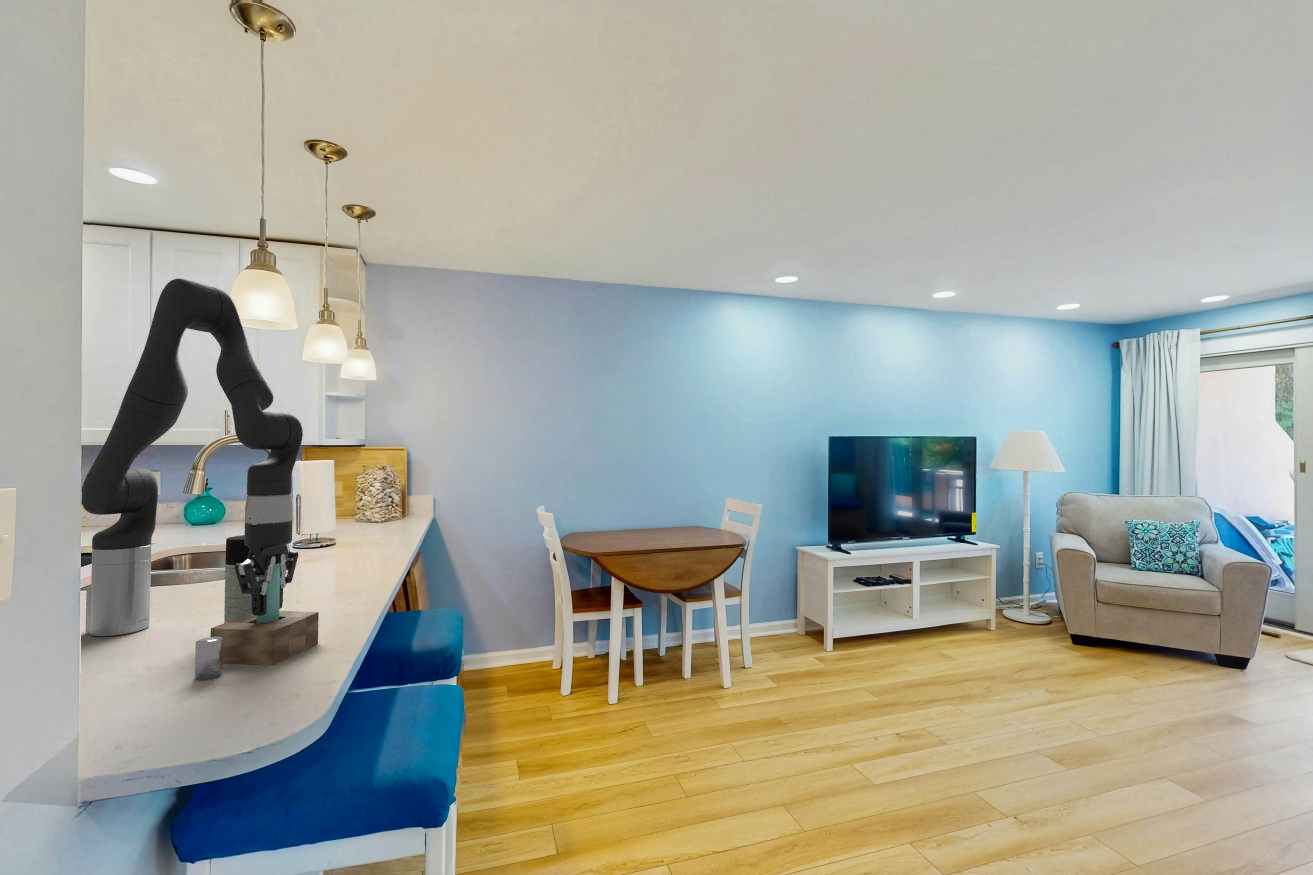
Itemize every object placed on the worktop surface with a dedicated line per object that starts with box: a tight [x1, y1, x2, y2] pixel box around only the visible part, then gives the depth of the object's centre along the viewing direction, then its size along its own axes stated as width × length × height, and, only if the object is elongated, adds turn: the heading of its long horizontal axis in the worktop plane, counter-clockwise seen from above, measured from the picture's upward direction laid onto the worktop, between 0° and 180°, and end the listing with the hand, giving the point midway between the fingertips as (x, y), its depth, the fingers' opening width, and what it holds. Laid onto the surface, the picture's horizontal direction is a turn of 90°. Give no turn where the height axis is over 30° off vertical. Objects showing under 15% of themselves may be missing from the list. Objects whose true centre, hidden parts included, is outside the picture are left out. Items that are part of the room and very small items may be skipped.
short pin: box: [194, 636, 223, 682], centre depth 101 cm, size 4×4×6 cm
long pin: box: [256, 563, 280, 624], centre depth 113 cm, size 4×4×14 cm
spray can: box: [223, 534, 252, 624], centre depth 122 cm, size 7×7×20 cm
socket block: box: [209, 610, 320, 666], centre depth 113 cm, size 12×12×6 cm
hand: (267, 611), depth 113 cm, fingers closed on long pin, 3 cm apart
